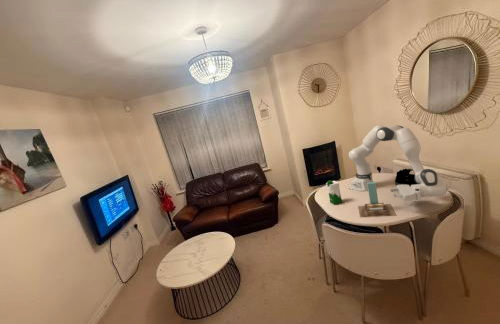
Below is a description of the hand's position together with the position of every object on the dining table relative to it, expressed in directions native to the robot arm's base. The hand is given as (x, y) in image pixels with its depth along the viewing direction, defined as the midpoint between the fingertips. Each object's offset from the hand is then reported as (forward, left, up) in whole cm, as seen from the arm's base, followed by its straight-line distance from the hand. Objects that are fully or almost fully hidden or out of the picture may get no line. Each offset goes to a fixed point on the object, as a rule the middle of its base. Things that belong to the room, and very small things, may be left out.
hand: (391, 193), depth 153 cm
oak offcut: (-8, -9, -11) cm, 17 cm away
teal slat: (-10, -6, -11) cm, 16 cm away
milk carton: (-43, -3, -12) cm, 45 cm away
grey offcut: (-6, -13, -11) cm, 18 cm away
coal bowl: (+1, +32, -12) cm, 34 cm away
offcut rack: (-9, -8, -12) cm, 17 cm away
